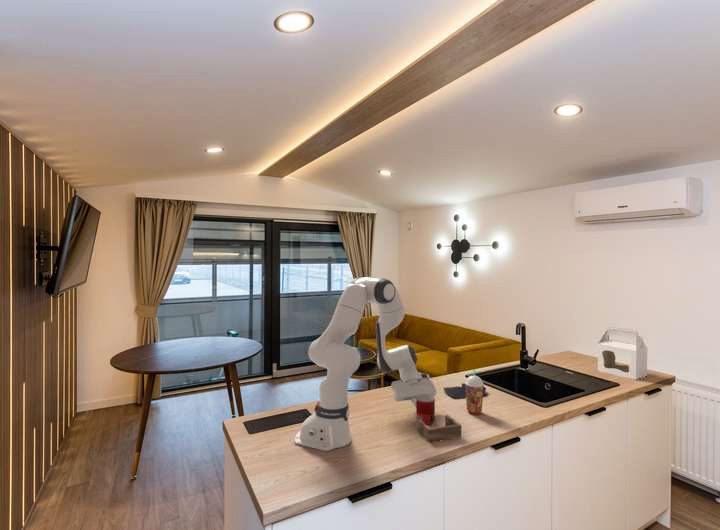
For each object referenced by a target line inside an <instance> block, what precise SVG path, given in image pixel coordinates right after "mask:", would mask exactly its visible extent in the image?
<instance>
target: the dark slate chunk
mask: <svg viewBox="0 0 720 530" xmlns="http://www.w3.org/2000/svg"><path fill="white" fill-rule="evenodd" d="M486 390H487V388H486V386H484V387H483V398H486V397H485V396H489V394H488V393H486ZM443 391H444V392H445V393H446V394H447V395H448V396H449V397H450V398H452V399H453V400H455V399H456V400H466V399H465V398H466V387H465V382H463V383H461V386H448V387H447V386H445V387H443ZM487 394H488V395H487Z"/></svg>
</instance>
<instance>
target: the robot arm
mask: <svg viewBox="0 0 720 530" xmlns="http://www.w3.org/2000/svg"><path fill="white" fill-rule="evenodd" d="M367 303H368V304H369V303H370V304H377V308H378V311H379V316H378V319H377V321H376V322H375V338H376V339H375V340H376V348H377V350H376V351H377V358H376V359H377V362H376V363H377V366H378V368H379V370H380V371H381V372H383V373H386V374H389V373H392V372H394V371H396V370H398V372H399V379H400V380H394V381H392V382H391V385H390V386H391V389H392V390H393V397H394V400H395V401H396V402H406V401H411V403H412V404H413V405H414V406H415V407H414V408H416V398H417V396H418V395H422V394H426V395H431V396H433V397H434V398H435V396H436V395H437V390H436V387H435V384H434V382H433V381H432V380H431V379H430V375H429V374H428V373H422V372H420V371H418V369H417V367H416V365H417V362H418V357H417V355H416V351H415V348H414V347H413V346H412V345H411V344H410V345H409V344H405V345H400V346H397V347H395V348H391V349H387V347H386V336H387V335H388V334H389V333H390V331H392V330H393V329H395V328H397V327H398V326H399V325H400V324H401V323H402V322H403V320H404V318H405V310H404V305H403V301H402V298H401V295H400V292H399V291H398V288H397V287H396V286H395V285H394V283H393V282H392V281H391V280H389V279H386V278H380V277H375V276H365V277H364V276H359V277H356V278H354V279H353V280H352V281H351V283H350V284H348V285H346V287H345V289H344V290H343V291H342V293H341V296H340V297H339V299H338V301H337V305H336V307H335V310H334V313H333V315H332V318H331V320H330V322H329V324H328V326H327V328H325V330H324V332H323V333H322V334H321V335H320V336H319V337H318V338H317V339H315V340H313V341H312V342H311V343H310V345H309V347H308V351H307V355H308V358H309V360H310V361H312V362H313V363H314V364H316V365H317V366H319V367H322V368H324V369H326V371H327V373H326V378H325V379H324V380H323V381H322V382H321V383H320V384H319V400H318V401H317V402H316V404H315V406H314V407H313V412H314V413H312V414H310V416H308V417H307V418H305V420H304V421H303V423H302V424H301V427H300V430H299V431H298V432H297V433H296V434H295V437H294V439H293V440H294V444H295V445H300V446H304V447H308V448H312V449H315V450H321V451H324V452H329V451H332V450H334V449H337V448H342V447H345V446H347V445H349V444H350V443H351V442H352V439H353V437H352V434H351V431H350V426H349V425H350V424H349V416H350V408H349V402H348V396H349V394H348V391H349V390H348V389H349V382H350V379H351V377H352V375H353V374H354V373H355V372H356V371H357V370H358V369H359V367H360V364H361V354H360V351H358V350H357V349H356V348H355V347H352V346H351V345H349V344H346V341H347V340H348V338H349V337H350V336H353V335H354V334H356V332H357V331H358V328H359V326H360V322H361V319H362V317H363V314H364V311H365V307H366V304H367Z"/></svg>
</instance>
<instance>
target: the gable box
mask: <svg viewBox="0 0 720 530" xmlns="http://www.w3.org/2000/svg"><path fill="white" fill-rule="evenodd" d="M610 335H612V336H618V337H626V338H630V339H631V338H632V339H635V340H636V344H634V343H633V344H632V343H627V342H623V341H617V340H610ZM615 354H619V355H626V356H629V357H630V362H629V364H628V365H626V364H625V365H623V364H621V365H619V364H617V363H616V355H615ZM597 371H598V372H601V373H605V374H608V375H613V376H618V377H622V378H625V377H626V378H625V379H629V378H632V379H631V380H633V379H638V380H640V379H639V378H641V377H644V378H646V377H645V376H647V377H648V347H647V346H646V343H645V342H644V341H643V336H640V335H639V333H638V330H634V329H627V328H622V327H621V328H620V327H615V326H614V327H612V326H609V327H607V328H606V331H605V330H603V335H602V337H601V338H600V340H599V341H598V343H597ZM641 379H642V378H641Z"/></svg>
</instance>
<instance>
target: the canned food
mask: <svg viewBox="0 0 720 530" xmlns="http://www.w3.org/2000/svg"><path fill="white" fill-rule="evenodd" d="M415 401H416V407H415V409H416V414H415V415H416V417H415V418H416V419H415V420H416V421H417V419H419V418H420V419H421V420H422V421H423V422H424V423H425V424H426V425H427V426H428V427H429V425H430V426H433V425H434V424H435V421H436V420H435V418H436V415H435V412H436V409H435V408H436V407H435V405H436V404H435V403H436V402H435V401H436V398H435V396H434V397H433V396H431V395H426V394H422V395H418V396H417V398H416V399H415Z"/></svg>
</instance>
